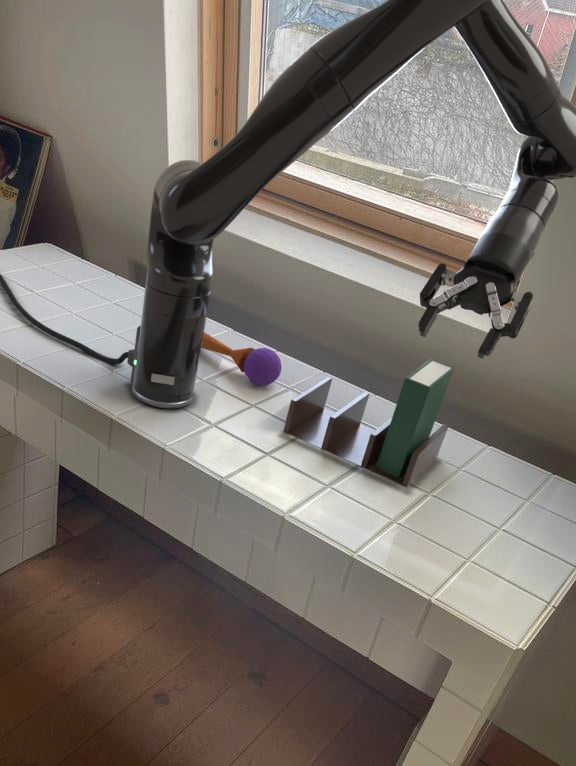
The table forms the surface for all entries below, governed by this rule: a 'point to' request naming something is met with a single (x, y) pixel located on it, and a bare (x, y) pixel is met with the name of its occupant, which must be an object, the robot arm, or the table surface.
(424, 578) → the table surface
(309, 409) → the rack
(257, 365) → the kendama
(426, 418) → the book
